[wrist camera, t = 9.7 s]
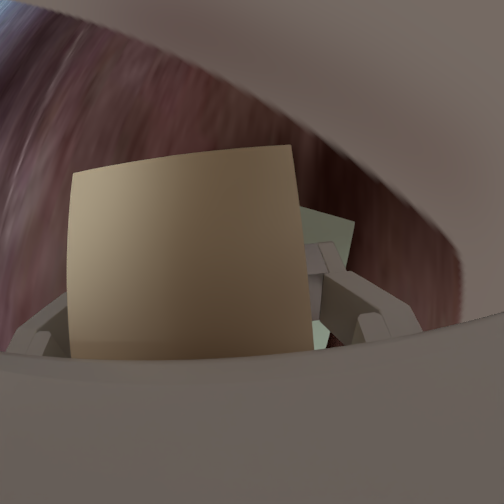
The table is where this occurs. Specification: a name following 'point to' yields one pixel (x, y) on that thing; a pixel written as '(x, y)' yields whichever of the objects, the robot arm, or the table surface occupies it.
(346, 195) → the table surface
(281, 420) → the robot arm
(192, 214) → the maple block
